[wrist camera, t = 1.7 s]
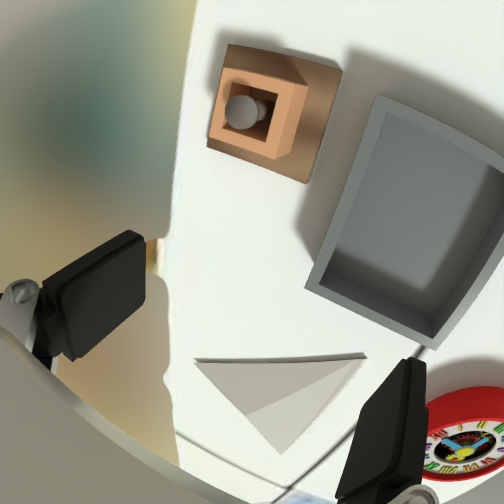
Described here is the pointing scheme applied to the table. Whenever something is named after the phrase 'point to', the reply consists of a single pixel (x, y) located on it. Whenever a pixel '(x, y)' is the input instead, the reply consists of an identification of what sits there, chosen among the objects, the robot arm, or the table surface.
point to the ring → (282, 119)
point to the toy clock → (465, 434)
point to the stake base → (308, 115)
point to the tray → (413, 225)
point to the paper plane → (281, 393)
